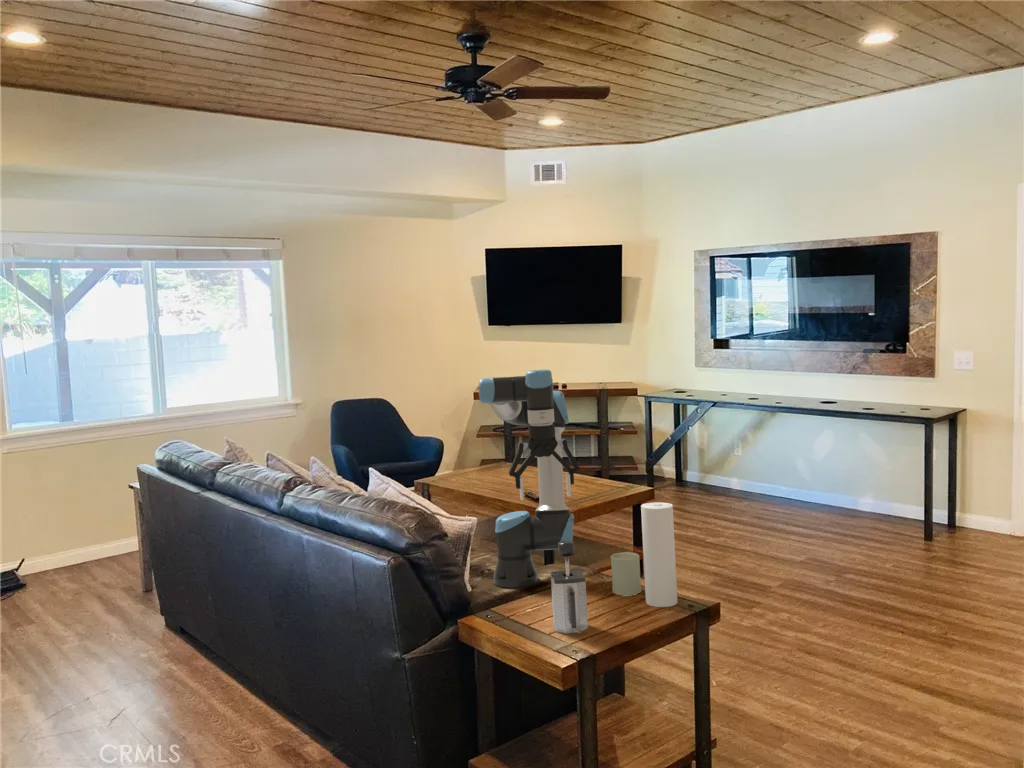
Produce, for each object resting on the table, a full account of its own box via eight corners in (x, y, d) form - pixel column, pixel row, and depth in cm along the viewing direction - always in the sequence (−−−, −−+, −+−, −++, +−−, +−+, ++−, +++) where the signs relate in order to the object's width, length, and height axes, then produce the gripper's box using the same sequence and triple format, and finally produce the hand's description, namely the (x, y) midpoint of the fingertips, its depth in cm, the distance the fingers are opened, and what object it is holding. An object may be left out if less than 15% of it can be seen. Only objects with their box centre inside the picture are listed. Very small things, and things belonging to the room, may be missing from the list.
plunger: (556, 610, 217) (552, 540, 217) (579, 608, 218) (575, 539, 217) (559, 618, 211) (555, 546, 210) (583, 616, 211) (579, 544, 210)
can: (612, 587, 248) (610, 550, 248) (641, 587, 247) (639, 550, 246) (612, 596, 239) (610, 558, 239) (642, 596, 238) (640, 558, 237)
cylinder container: (677, 607, 226) (672, 506, 225) (645, 606, 228) (640, 507, 227) (677, 596, 235) (672, 500, 234) (646, 596, 237) (641, 500, 236)
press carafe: (551, 622, 219) (548, 571, 218) (584, 620, 220) (582, 568, 219) (557, 639, 207) (554, 584, 206) (592, 636, 207) (589, 581, 207)
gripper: (498, 428, 213) (503, 503, 214) (587, 422, 215) (591, 496, 216) (496, 425, 220) (501, 498, 221) (582, 419, 222) (585, 491, 224)
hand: (545, 497), depth 219 cm, fingers open, 13 cm apart
